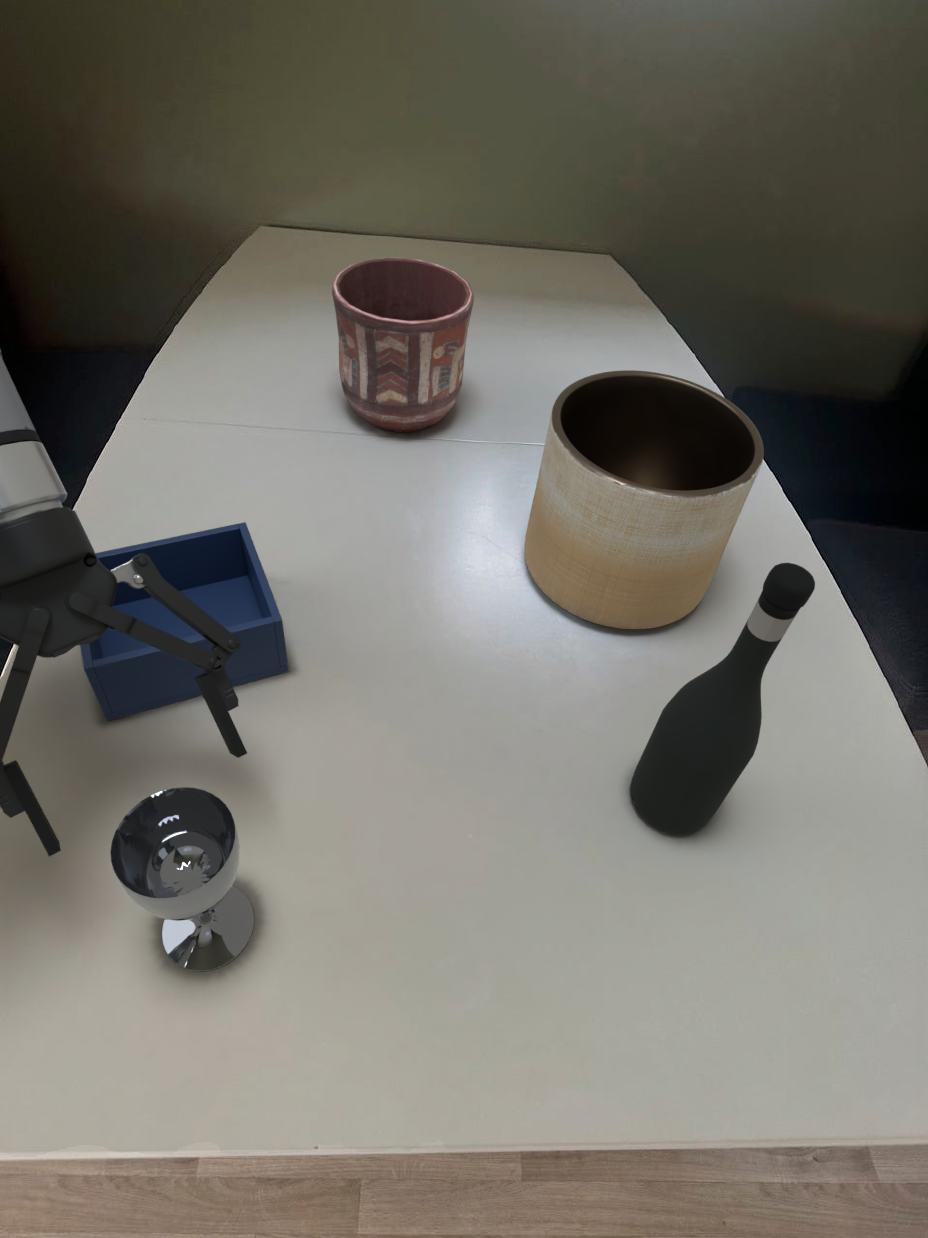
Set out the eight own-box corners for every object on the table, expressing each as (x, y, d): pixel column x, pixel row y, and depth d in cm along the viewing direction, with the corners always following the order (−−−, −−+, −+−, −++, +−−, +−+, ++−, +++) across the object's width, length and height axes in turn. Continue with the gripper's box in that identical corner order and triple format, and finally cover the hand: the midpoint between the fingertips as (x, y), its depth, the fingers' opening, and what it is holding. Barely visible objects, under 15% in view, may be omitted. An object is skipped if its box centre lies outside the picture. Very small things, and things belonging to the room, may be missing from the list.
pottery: (353, 454, 106) (351, 328, 93) (325, 382, 117) (319, 259, 103) (478, 438, 111) (493, 315, 97) (440, 370, 122) (448, 251, 108)
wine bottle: (638, 751, 79) (743, 522, 56) (718, 780, 77) (858, 556, 55) (619, 819, 73) (725, 597, 51) (703, 852, 72) (851, 637, 50)
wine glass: (166, 993, 60) (120, 918, 49) (148, 898, 65) (101, 809, 54) (270, 953, 63) (248, 872, 52) (245, 864, 68) (220, 772, 56)
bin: (106, 721, 76) (83, 669, 70) (87, 613, 84) (65, 558, 78) (288, 671, 81) (282, 619, 76) (253, 575, 90) (245, 521, 84)
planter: (743, 598, 94) (813, 460, 79) (594, 664, 86) (641, 523, 71) (627, 489, 106) (669, 351, 91) (487, 537, 97) (508, 393, 83)
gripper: (182, 473, 63) (291, 714, 66) (-188, 597, 51) (-32, 880, 55) (200, 453, 56) (320, 723, 60) (-220, 592, 45) (-40, 913, 49)
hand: (151, 799), depth 57 cm, fingers open, 13 cm apart
